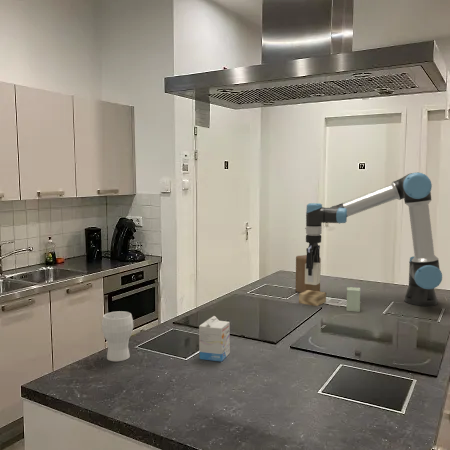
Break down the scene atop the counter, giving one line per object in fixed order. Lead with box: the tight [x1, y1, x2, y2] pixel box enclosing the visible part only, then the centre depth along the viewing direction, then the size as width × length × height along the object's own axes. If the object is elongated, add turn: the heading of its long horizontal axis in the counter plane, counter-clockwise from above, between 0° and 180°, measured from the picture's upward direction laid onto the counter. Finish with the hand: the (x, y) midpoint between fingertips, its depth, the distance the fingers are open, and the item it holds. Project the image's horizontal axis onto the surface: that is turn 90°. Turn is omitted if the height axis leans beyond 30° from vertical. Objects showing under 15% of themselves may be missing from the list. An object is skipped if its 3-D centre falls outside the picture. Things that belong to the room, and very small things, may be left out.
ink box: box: [198, 315, 231, 362], centre depth 161 cm, size 9×8×13 cm
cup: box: [101, 310, 134, 362], centre depth 160 cm, size 11×11×15 cm
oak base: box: [298, 290, 327, 307], centre depth 232 cm, size 10×10×5 cm
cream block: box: [305, 263, 322, 285], centre depth 231 cm, size 6×6×10 cm
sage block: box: [345, 286, 361, 313], centre depth 218 cm, size 6×6×10 cm
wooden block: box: [295, 254, 322, 294], centre depth 251 cm, size 10×10×20 cm
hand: (312, 280), depth 231 cm, fingers closed on cream block, 6 cm apart
